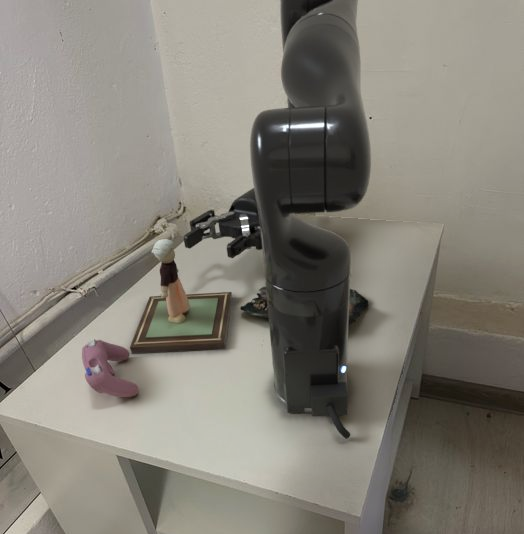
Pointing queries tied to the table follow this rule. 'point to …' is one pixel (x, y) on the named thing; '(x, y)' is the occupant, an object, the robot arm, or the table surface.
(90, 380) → the video game controller
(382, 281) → the table surface
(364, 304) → the decorative rock
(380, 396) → the table surface
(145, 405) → the table surface
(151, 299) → the board
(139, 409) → the table surface
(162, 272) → the grandmother figurine
